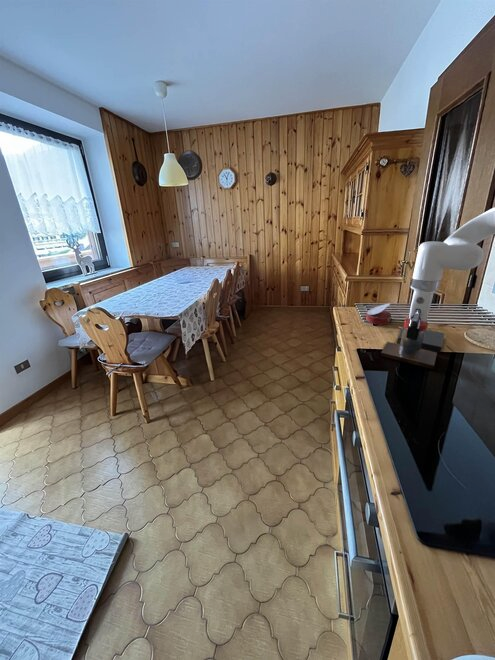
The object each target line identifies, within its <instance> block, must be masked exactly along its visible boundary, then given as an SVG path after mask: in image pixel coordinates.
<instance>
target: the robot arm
mask: <svg viewBox="0 0 495 660" xmlns="http://www.w3.org/2000/svg"><path fill="white" fill-rule="evenodd" d="M494 235H495V206H493V207H492V208H490V209H488V210H487V211H485V212H483V213H481V214H479V215H477V216H475V217H474V218H472V219H470V220H469V221H467V222H466V223H464V224H462V225H461V226H460V227H459V228H458V229H456V230H455V231H454V232H453V233H451V234H450V235H449V236H448V237H446V239H445V240H444V241H437V240H436V241H431V240H430V241H425V242H422V243H420V245H419V246H418V250H417V254H416V260H415V263H414V269H413V272H412V278H411V283H410V289H412V290H413V293H412V297H411V303H410V308H409V315H408V316H409V319H410V320H411V321H410V325H409V326H408V330H407V335H406V338H409V339H413V340H417V338H418V334H419V330H420V328H419V326H420V323H421V321H423V322H426V321H427V322H428V318H429V315H430V311H431V306H432V302H433V298H434V294H435V293H436V292H437V291H439V289H440V286H441V282H442V278H443V274H444V270H445V269H449V270H454V271H455V270H456V271H468V270H472V269H475V268H477V267H478V266H479V265H480V264H481V263H482V262H483V260H484V257H485V253H484V250H483V248H482V247H481V246H480V245H478V244H479V243H480V242H482V241H484V240H486V239H487V238H490V237H492V236H494ZM418 318H420V319H418ZM417 322H418V323H417Z"/></svg>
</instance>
